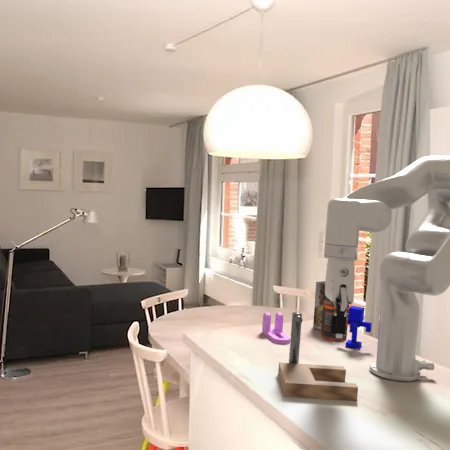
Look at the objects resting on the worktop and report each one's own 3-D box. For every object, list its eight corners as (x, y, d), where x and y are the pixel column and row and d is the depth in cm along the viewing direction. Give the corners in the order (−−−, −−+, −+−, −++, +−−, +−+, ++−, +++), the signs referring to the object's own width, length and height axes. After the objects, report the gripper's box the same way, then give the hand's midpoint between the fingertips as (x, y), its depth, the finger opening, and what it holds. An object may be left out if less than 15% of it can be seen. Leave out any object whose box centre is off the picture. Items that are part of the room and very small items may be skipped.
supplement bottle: (346, 344, 116) (350, 294, 115) (320, 341, 117) (323, 292, 116) (346, 337, 122) (349, 290, 121) (320, 334, 123) (324, 288, 122)
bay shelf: (342, 378, 127) (343, 366, 127) (357, 400, 113) (358, 387, 113) (278, 374, 127) (279, 362, 127) (284, 396, 113) (285, 382, 113)
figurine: (349, 350, 152) (352, 310, 151) (336, 343, 159) (338, 305, 158) (371, 349, 154) (374, 310, 154) (357, 342, 161) (359, 304, 161)
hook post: (299, 369, 132) (304, 311, 131) (303, 378, 125) (308, 317, 124) (284, 368, 132) (288, 310, 131) (287, 377, 125) (291, 316, 124)
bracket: (261, 332, 166) (263, 311, 166) (278, 332, 168) (279, 311, 167) (275, 344, 154) (276, 321, 154) (292, 344, 155) (294, 321, 155)
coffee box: (344, 332, 173) (348, 285, 172) (329, 334, 170) (333, 285, 169) (326, 325, 181) (329, 280, 180) (312, 327, 178) (315, 280, 177)
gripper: (367, 257, 110) (360, 340, 111) (348, 249, 127) (342, 321, 128) (332, 255, 110) (325, 338, 111) (317, 247, 127) (312, 319, 128)
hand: (334, 328), depth 119 cm, fingers closed on supplement bottle, 6 cm apart
